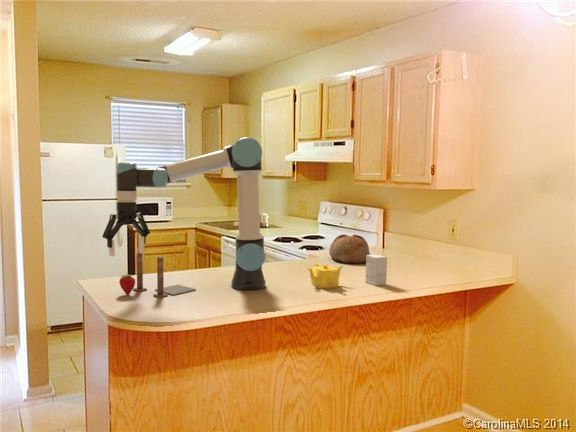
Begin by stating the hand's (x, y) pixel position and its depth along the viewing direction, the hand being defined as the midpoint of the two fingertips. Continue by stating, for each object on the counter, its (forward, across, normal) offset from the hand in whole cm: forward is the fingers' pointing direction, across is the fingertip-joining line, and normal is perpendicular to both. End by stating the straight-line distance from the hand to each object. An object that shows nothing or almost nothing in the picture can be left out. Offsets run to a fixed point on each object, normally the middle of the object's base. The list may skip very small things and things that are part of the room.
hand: (127, 253), depth 202 cm
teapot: (+17, -70, +49) cm, 87 cm away
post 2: (+17, -8, +11) cm, 22 cm away
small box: (+17, -90, +64) cm, 112 cm away
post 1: (+17, -8, -3) cm, 19 cm away
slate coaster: (+17, -18, +8) cm, 26 cm away
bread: (+17, -133, +22) cm, 136 cm away
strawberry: (+17, 0, 0) cm, 17 cm away
